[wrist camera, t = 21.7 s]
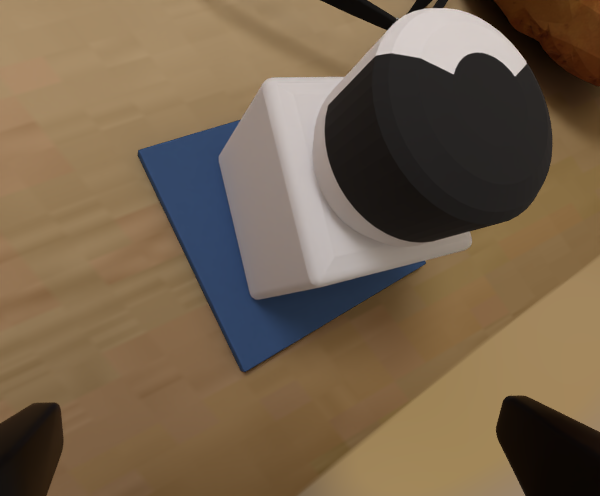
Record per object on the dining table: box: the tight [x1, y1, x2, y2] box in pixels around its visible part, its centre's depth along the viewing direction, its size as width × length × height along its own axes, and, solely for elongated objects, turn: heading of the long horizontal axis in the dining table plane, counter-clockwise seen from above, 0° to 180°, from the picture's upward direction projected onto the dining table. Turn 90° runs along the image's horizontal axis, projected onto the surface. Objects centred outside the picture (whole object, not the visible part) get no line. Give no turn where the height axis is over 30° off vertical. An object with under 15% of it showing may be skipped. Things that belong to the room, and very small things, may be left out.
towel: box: [138, 120, 426, 372], centre depth 22 cm, size 11×12×1 cm
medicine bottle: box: [219, 8, 552, 300], centre depth 16 cm, size 7×7×12 cm
